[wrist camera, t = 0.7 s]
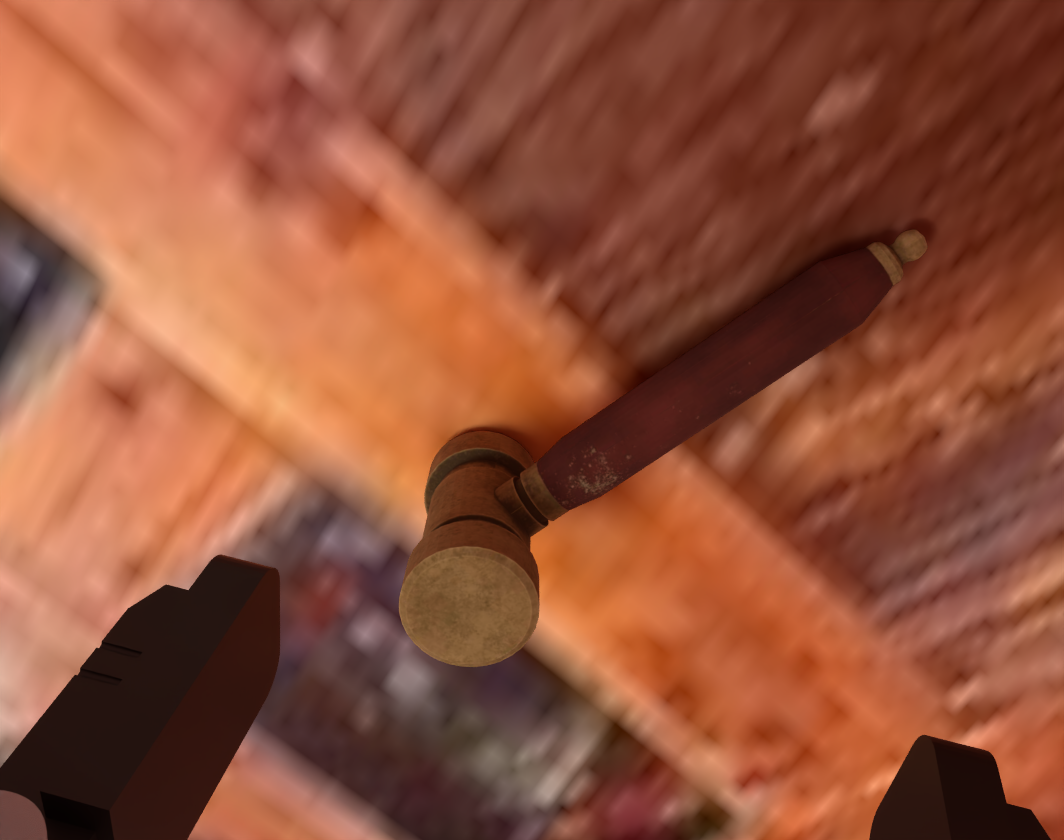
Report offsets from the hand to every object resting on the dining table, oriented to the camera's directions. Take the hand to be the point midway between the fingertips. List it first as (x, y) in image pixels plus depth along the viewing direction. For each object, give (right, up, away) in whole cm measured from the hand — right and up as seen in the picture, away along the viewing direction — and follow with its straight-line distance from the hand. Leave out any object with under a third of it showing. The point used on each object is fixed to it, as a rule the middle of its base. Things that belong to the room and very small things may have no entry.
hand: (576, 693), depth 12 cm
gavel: (+4, +6, +27) cm, 28 cm away
